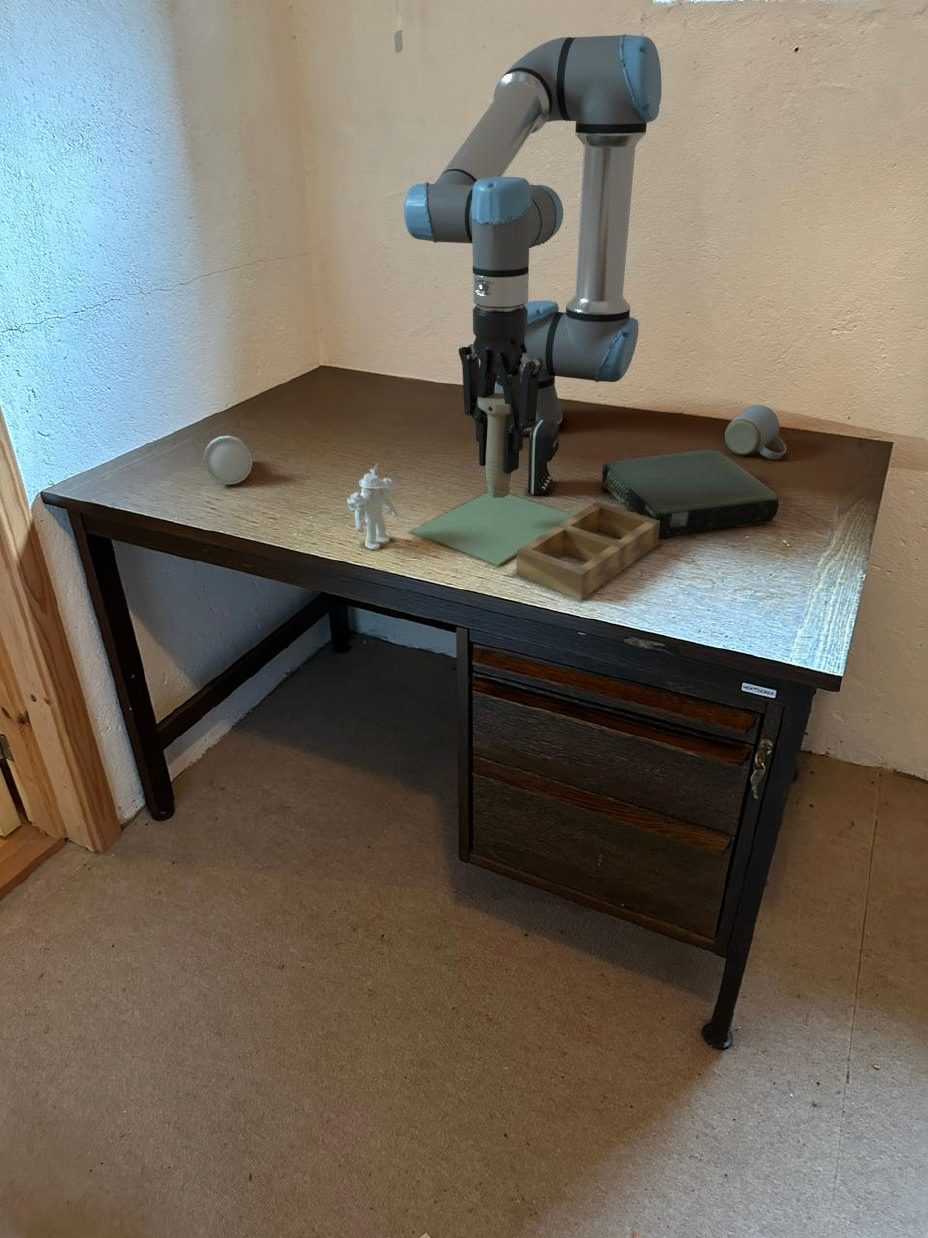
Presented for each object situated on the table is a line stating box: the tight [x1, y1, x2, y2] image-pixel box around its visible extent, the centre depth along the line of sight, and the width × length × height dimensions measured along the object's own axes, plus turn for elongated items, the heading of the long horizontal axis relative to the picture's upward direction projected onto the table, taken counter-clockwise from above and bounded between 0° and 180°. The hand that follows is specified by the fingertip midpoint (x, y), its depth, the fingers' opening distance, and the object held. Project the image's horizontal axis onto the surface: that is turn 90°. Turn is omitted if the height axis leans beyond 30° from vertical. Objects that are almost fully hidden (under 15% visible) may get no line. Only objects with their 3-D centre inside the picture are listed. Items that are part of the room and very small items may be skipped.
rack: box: [515, 501, 660, 601], centre depth 124 cm, size 20×11×4 cm, turn 140°
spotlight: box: [203, 435, 253, 486], centre depth 152 cm, size 8×11×8 cm
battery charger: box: [527, 420, 560, 496], centre depth 143 cm, size 7×4×11 cm, turn 162°
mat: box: [412, 491, 575, 567], centre depth 134 cm, size 20×17×1 cm
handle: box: [478, 393, 512, 498], centre depth 127 cm, size 5×6×15 cm
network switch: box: [601, 448, 780, 539], centre depth 138 cm, size 23×23×5 cm
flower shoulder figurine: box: [346, 461, 398, 550], centre depth 127 cm, size 9×4×12 cm, turn 144°
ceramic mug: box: [724, 404, 788, 461], centre depth 156 cm, size 11×8×8 cm
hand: (498, 466), depth 129 cm, fingers closed on handle, 4 cm apart
